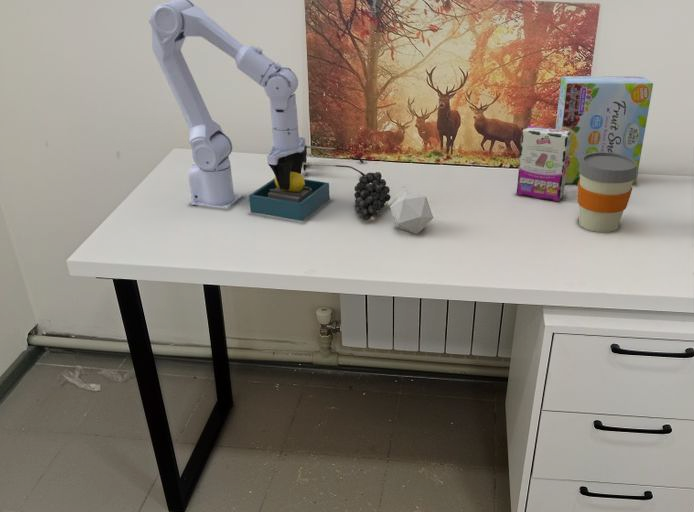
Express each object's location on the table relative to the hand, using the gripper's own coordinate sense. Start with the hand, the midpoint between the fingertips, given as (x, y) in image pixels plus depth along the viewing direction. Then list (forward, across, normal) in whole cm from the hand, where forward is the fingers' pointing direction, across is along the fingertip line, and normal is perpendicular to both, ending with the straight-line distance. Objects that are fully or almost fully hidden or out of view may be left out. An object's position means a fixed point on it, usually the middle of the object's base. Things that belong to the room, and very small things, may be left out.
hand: (289, 185), depth 170 cm
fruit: (+6, +4, -18) cm, 19 cm away
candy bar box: (+6, +31, -53) cm, 62 cm away
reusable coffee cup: (+6, +19, -70) cm, 72 cm away
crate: (+6, 0, 0) cm, 6 cm away
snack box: (+6, +48, -64) cm, 80 cm away
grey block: (+5, 0, 0) cm, 5 cm away
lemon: (+1, 0, 0) cm, 1 cm away
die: (+6, -1, -31) cm, 31 cm away
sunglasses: (+6, +27, +2) cm, 28 cm away
